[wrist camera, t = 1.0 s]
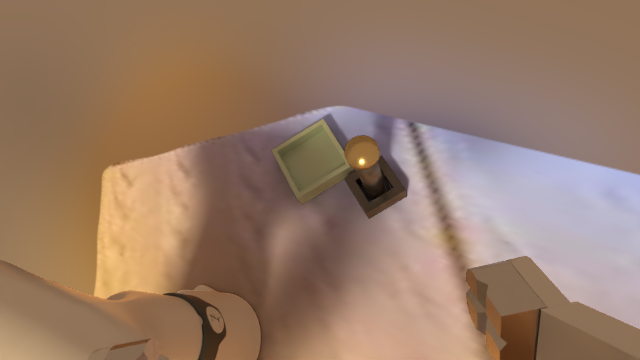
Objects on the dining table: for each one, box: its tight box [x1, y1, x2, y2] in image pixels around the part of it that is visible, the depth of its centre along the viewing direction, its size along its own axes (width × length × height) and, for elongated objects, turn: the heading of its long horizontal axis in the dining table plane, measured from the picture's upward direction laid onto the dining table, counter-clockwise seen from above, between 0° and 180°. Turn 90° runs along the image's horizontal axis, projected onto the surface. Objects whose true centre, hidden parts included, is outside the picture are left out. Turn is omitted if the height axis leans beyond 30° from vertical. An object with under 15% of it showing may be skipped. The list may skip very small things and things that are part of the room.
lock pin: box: [344, 135, 386, 199], centre depth 56 cm, size 4×4×15 cm
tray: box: [271, 119, 355, 204], centre depth 66 cm, size 11×11×3 cm
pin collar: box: [344, 156, 407, 219], centre depth 61 cm, size 7×7×3 cm
